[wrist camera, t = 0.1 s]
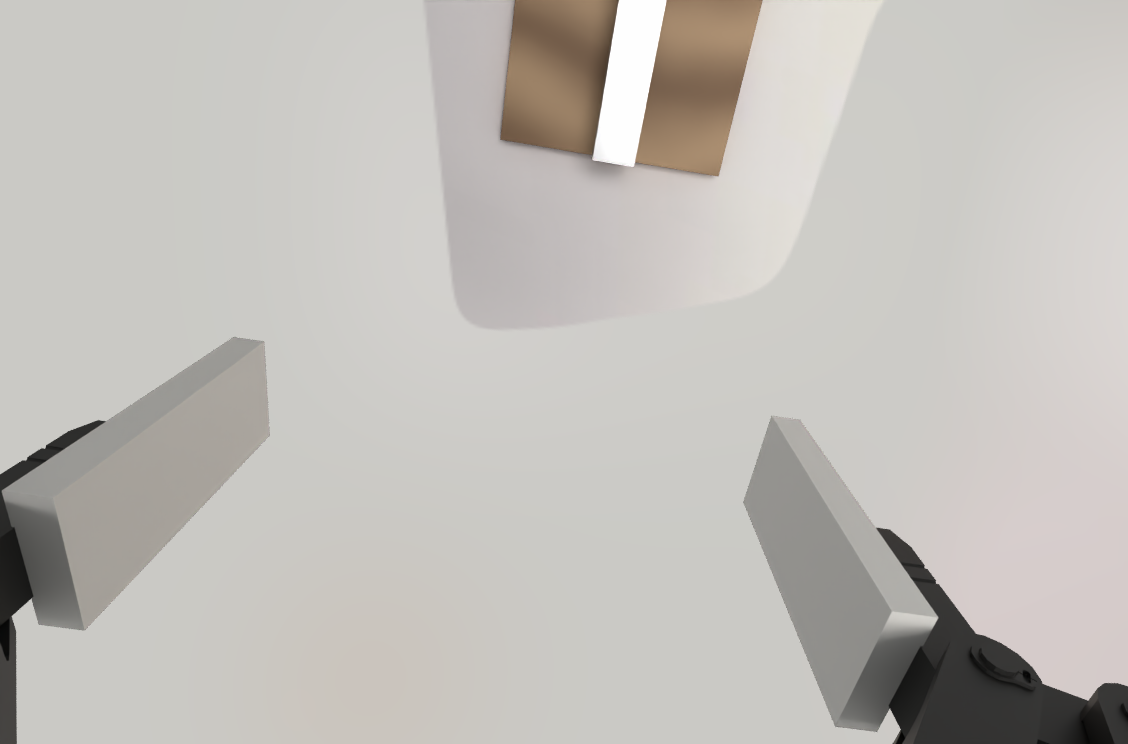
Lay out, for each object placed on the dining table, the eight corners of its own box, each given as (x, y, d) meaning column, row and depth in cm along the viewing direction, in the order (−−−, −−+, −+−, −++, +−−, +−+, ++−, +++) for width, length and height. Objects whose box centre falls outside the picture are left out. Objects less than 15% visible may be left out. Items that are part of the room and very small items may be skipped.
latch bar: (618, -99, 33) (622, -124, 29) (691, -86, 33) (704, -109, 29) (578, 153, 38) (578, 157, 34) (641, 163, 38) (647, 169, 34)
